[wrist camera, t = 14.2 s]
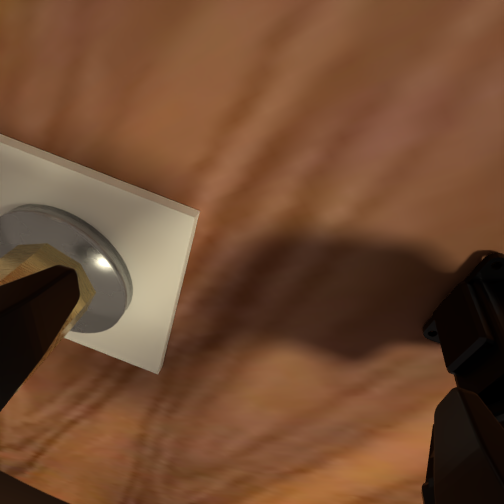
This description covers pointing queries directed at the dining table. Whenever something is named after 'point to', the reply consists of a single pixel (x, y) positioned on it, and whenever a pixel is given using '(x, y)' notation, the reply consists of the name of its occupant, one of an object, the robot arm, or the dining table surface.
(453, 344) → the robot arm
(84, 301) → the brown and gold cylinder
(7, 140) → the board
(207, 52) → the dining table surface
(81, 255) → the metal disc with knob
